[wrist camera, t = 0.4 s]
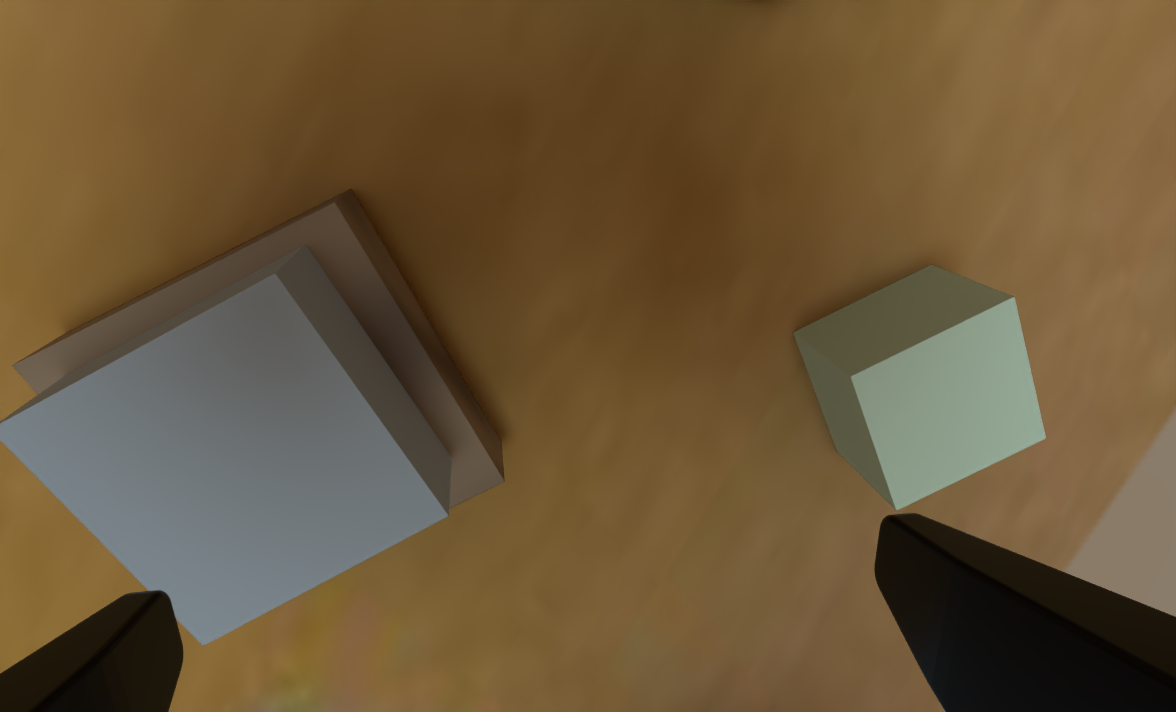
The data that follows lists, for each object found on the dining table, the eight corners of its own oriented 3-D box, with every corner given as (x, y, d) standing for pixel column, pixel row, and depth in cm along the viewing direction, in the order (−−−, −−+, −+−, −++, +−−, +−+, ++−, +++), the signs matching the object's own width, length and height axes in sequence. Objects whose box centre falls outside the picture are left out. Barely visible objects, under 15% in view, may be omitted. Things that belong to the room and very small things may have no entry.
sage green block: (962, 386, 25) (1046, 438, 22) (834, 449, 25) (896, 510, 22) (928, 263, 23) (1014, 296, 20) (791, 331, 24) (850, 376, 20)
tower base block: (500, 435, 24) (504, 481, 21) (260, 554, 24) (232, 615, 21) (353, 186, 20) (334, 202, 18) (74, 328, 21) (11, 365, 18)
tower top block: (451, 457, 20) (448, 516, 18) (239, 570, 21) (203, 645, 18) (305, 244, 18) (275, 272, 15) (64, 376, 18) (-11, 429, 15)
